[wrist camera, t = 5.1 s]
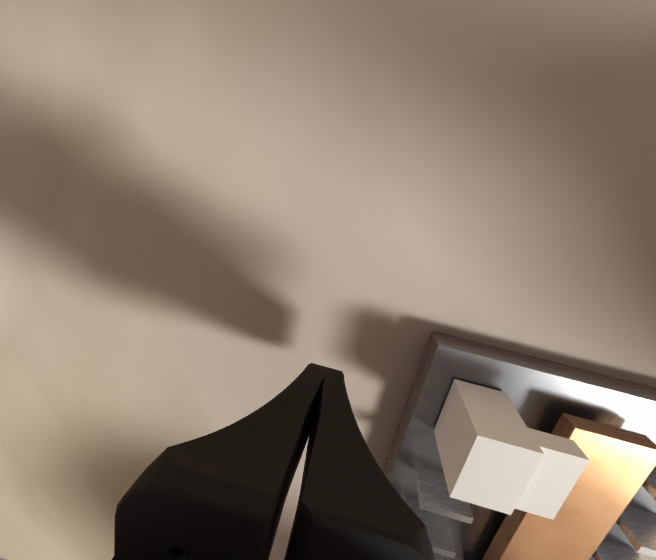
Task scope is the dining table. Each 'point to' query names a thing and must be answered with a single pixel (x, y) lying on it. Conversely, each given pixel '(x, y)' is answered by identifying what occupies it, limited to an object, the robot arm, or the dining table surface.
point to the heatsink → (537, 413)
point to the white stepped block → (502, 454)
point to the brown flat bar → (581, 496)
